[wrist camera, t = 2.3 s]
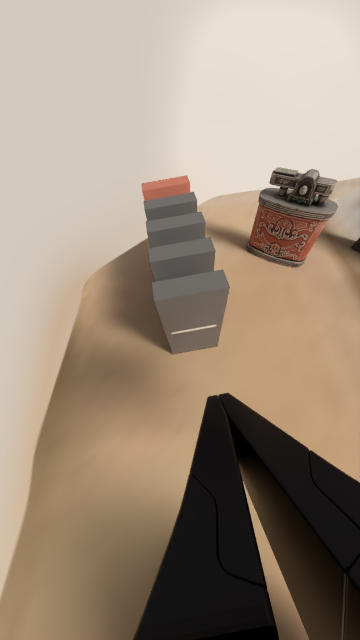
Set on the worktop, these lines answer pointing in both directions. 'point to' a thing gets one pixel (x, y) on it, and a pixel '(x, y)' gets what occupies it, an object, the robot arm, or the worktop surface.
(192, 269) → the domino
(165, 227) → the domino
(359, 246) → the ammunition clip
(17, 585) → the worktop surface
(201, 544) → the robot arm
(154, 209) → the domino
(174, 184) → the domino
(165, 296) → the domino
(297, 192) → the lighter
